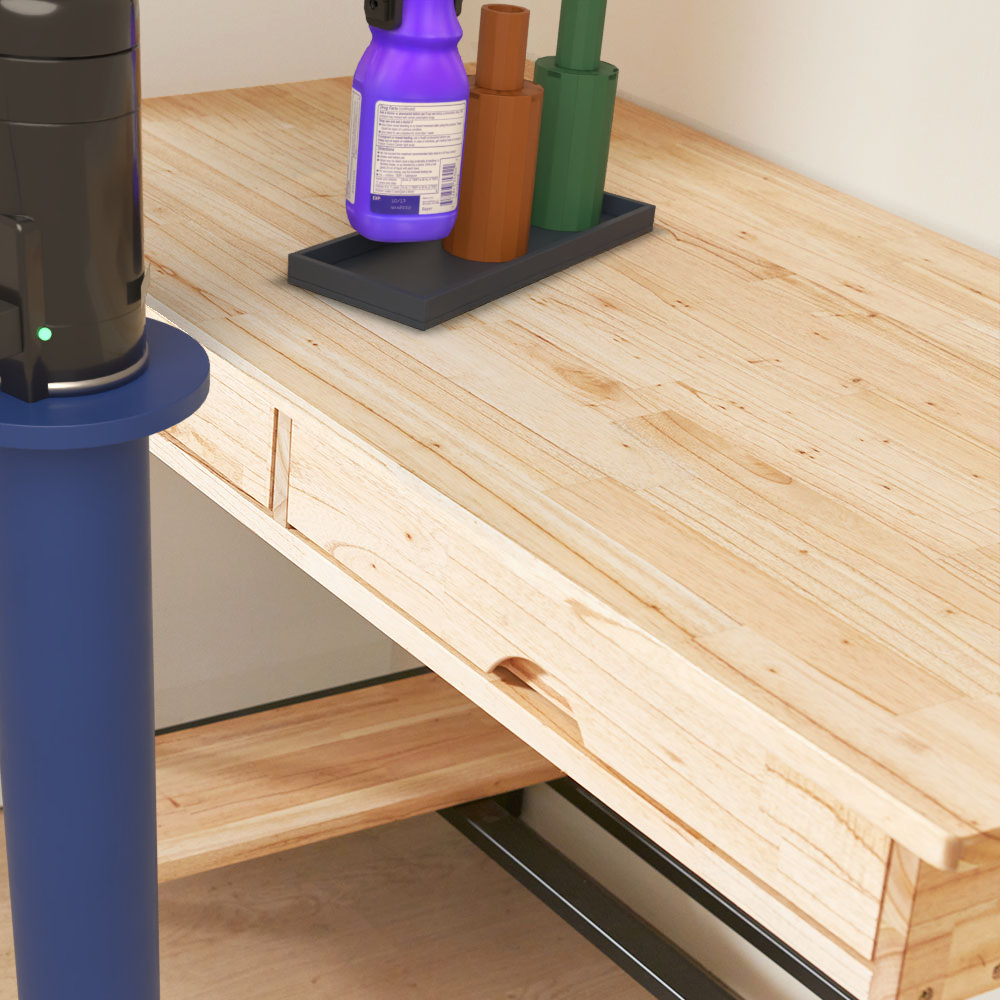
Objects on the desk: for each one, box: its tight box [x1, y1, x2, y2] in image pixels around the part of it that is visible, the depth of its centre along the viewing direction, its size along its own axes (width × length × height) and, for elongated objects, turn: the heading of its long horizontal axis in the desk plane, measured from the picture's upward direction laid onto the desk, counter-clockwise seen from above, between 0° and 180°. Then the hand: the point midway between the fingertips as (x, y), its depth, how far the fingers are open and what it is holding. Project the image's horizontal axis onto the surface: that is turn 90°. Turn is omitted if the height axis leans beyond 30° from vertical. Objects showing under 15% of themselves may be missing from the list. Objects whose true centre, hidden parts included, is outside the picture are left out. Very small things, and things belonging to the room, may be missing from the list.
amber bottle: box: [442, 3, 544, 263], centre depth 105 cm, size 6×6×17 cm
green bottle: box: [530, 0, 620, 232], centre depth 113 cm, size 6×6×17 cm
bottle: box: [344, 0, 470, 243], centre depth 96 cm, size 7×6×17 cm
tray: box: [286, 190, 657, 331], centre depth 109 cm, size 29×11×2 cm, turn 146°
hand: (413, 20), depth 94 cm, fingers closed on bottle, 5 cm apart
